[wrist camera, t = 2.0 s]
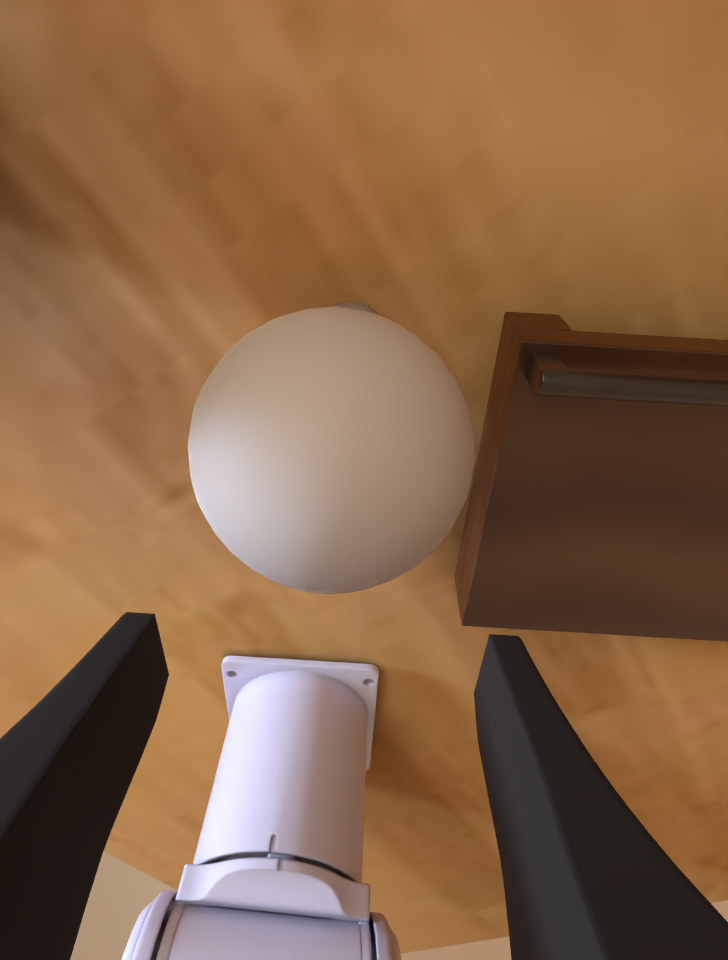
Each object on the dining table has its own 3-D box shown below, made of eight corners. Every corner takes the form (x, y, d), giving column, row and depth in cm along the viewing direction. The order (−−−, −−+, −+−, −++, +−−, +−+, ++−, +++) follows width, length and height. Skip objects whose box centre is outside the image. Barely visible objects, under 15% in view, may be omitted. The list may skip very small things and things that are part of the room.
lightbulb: (238, 256, 18) (77, 413, 8) (430, 216, 17) (483, 344, 8) (289, 424, 21) (212, 669, 12) (451, 398, 20) (506, 640, 11)
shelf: (788, 597, 25) (857, 681, 21) (454, 577, 25) (466, 658, 21) (961, 338, 18) (1105, 395, 15) (504, 311, 18) (534, 361, 15)
